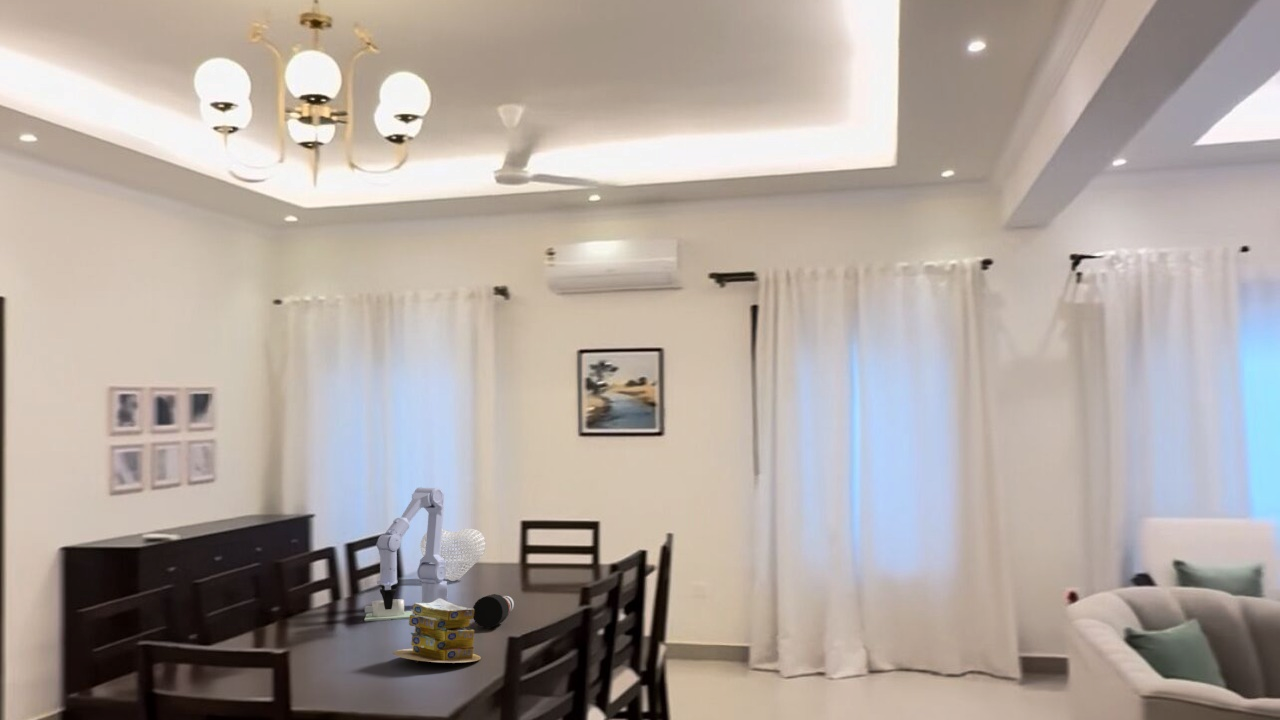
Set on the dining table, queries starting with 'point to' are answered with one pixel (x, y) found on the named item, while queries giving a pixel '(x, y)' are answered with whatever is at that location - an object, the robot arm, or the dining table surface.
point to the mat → (388, 617)
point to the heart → (459, 550)
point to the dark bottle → (492, 610)
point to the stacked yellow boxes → (440, 633)
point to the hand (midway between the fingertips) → (388, 607)
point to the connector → (380, 611)
